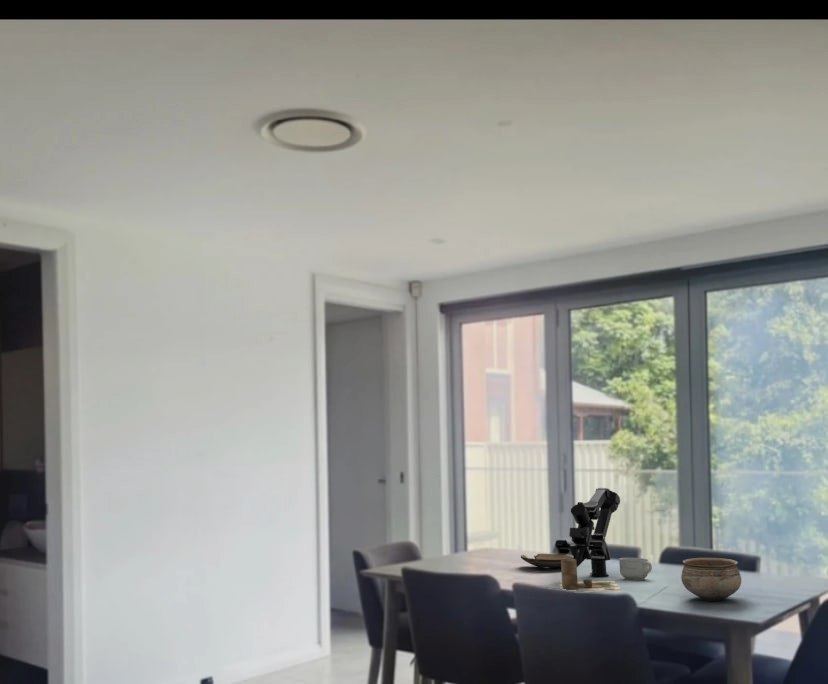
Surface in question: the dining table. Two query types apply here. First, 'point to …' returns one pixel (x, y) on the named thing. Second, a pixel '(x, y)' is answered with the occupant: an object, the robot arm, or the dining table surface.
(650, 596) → the dining table surface
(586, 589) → the dial board
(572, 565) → the brown piece
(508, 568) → the dining table surface
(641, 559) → the teacup
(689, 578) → the cooking pot
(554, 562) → the oil lamp
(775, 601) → the dining table surface
